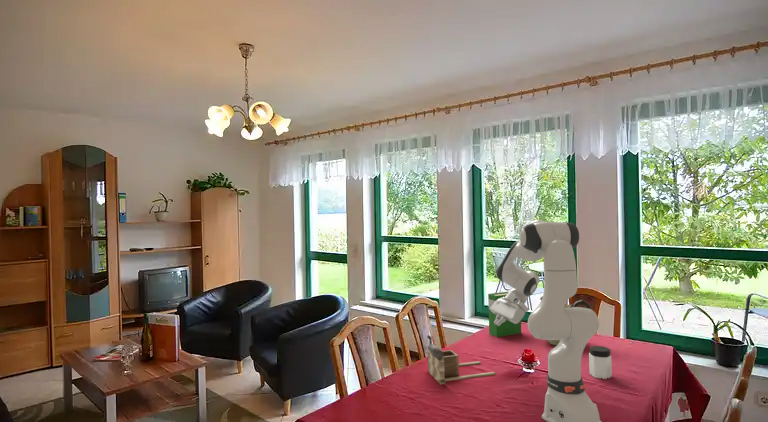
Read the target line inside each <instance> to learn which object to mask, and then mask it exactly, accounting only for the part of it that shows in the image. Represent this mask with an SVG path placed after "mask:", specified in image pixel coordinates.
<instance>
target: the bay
mask: <svg viewBox="0 0 768 422" xmlns="http://www.w3.org/2000/svg"><path fill="white" fill-rule="evenodd" d="M426 337H427V339H428V340H429V344H428V345H427V371H428V373H429V374H430V375H431V377H433V378H434V380H436V382H438V383H439V385H447V384H448V383H447V382H449V381H457V380H465V379H472V378H480V377H481V378H482V377H488V376H494V375H495V376H496V372H495V371H491V372H482V373H473V374H466V375H459V376H451V377H445V371H444V360H442V358H443V356H444V353H443V352H442V351H443V350H441V349H440V348H439V347H437V346H436V345H435V344H434V343H433V342H432V341H433V340H432V336H431V335H427V336H426ZM481 364H482V362H481V361H470V362H463V363H459V367H465V366H466V367H467V366H474V365H481Z"/></svg>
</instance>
